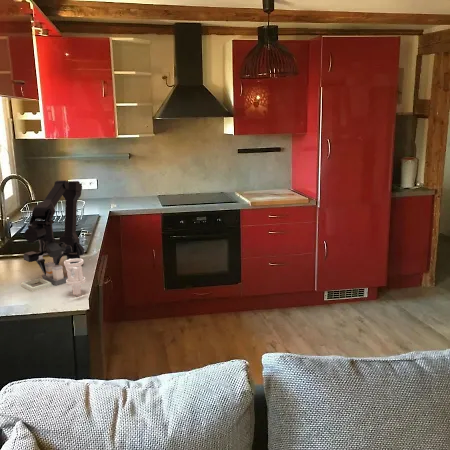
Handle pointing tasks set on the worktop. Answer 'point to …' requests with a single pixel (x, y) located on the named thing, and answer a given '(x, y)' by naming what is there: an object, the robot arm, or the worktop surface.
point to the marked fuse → (49, 269)
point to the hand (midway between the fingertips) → (50, 272)
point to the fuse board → (55, 282)
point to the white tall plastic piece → (75, 275)
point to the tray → (28, 283)
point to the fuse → (57, 272)
